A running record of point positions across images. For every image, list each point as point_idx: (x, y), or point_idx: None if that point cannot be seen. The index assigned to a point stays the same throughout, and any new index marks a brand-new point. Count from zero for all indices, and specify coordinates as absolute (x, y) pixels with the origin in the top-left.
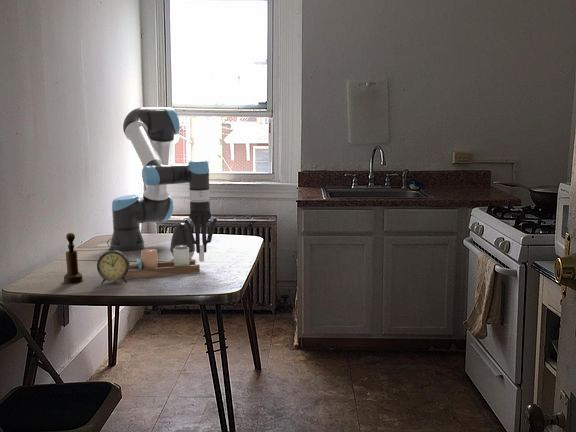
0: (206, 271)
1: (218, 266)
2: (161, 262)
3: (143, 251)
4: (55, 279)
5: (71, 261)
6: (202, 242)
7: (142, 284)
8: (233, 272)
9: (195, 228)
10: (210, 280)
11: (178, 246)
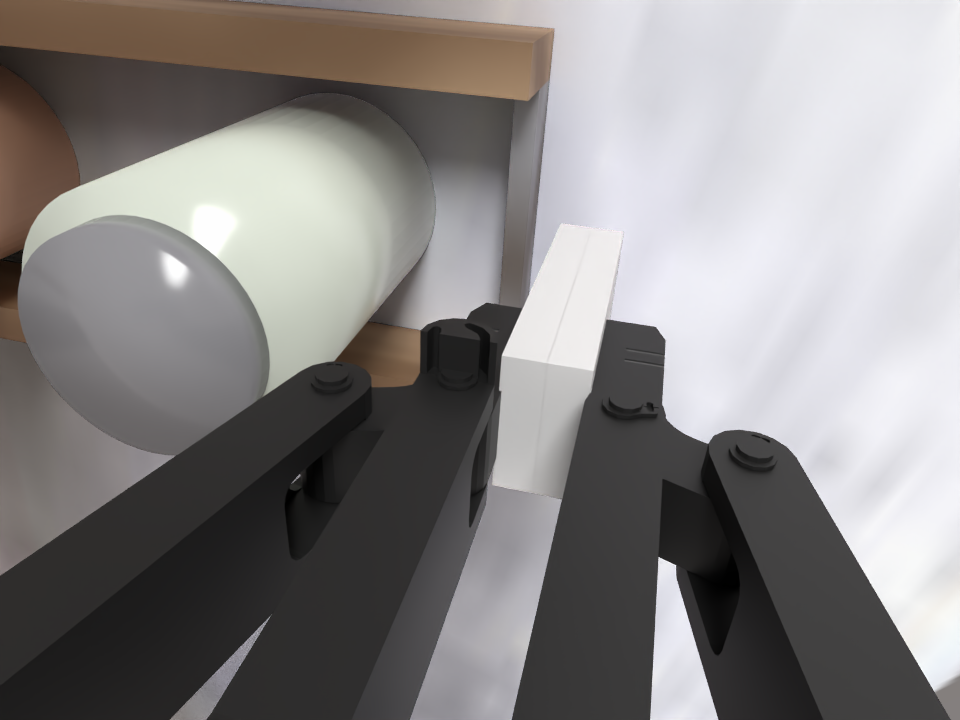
0: None
1: (903, 167)
2: (21, 28)
3: None
4: None
5: None
6: (584, 409)
7: (10, 482)
8: (883, 547)
9: (239, 706)
10: None
11: (88, 354)
